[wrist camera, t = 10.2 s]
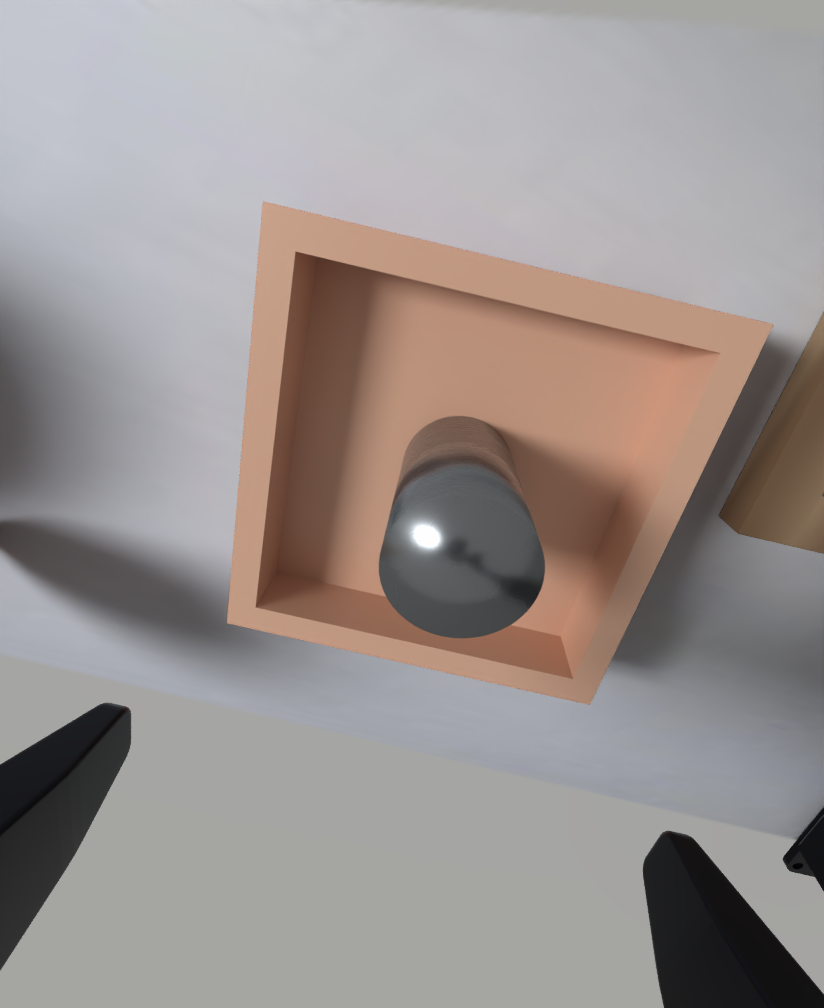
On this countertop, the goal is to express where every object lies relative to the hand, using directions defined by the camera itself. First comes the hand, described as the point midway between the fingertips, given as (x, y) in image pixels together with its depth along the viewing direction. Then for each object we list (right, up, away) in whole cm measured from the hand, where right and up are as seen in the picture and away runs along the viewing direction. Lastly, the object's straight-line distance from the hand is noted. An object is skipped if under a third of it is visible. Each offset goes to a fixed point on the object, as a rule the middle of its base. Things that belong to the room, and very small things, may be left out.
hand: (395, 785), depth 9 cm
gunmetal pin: (+2, +6, +10) cm, 12 cm away
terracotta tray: (+2, +6, +11) cm, 13 cm away
